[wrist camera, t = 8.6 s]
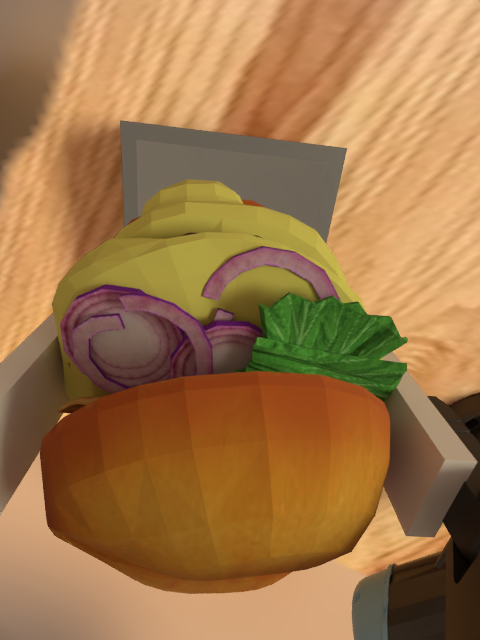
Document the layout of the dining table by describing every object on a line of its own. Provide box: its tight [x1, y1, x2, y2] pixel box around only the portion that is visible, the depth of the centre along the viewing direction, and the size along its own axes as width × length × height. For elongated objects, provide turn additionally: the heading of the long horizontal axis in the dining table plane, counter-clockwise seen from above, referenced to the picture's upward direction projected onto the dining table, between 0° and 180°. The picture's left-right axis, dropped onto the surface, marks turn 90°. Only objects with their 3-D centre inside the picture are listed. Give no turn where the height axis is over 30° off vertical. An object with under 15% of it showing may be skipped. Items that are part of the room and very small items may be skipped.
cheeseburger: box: [40, 179, 408, 594], centre depth 11 cm, size 10×11×10 cm
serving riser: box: [120, 121, 347, 243], centre depth 29 cm, size 15×15×5 cm
